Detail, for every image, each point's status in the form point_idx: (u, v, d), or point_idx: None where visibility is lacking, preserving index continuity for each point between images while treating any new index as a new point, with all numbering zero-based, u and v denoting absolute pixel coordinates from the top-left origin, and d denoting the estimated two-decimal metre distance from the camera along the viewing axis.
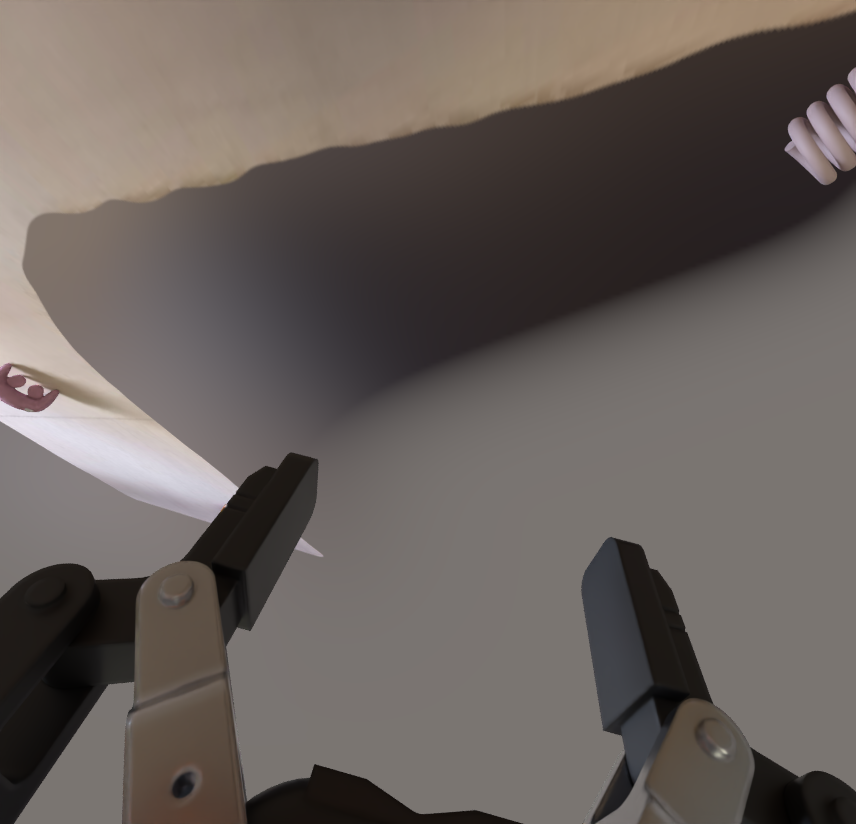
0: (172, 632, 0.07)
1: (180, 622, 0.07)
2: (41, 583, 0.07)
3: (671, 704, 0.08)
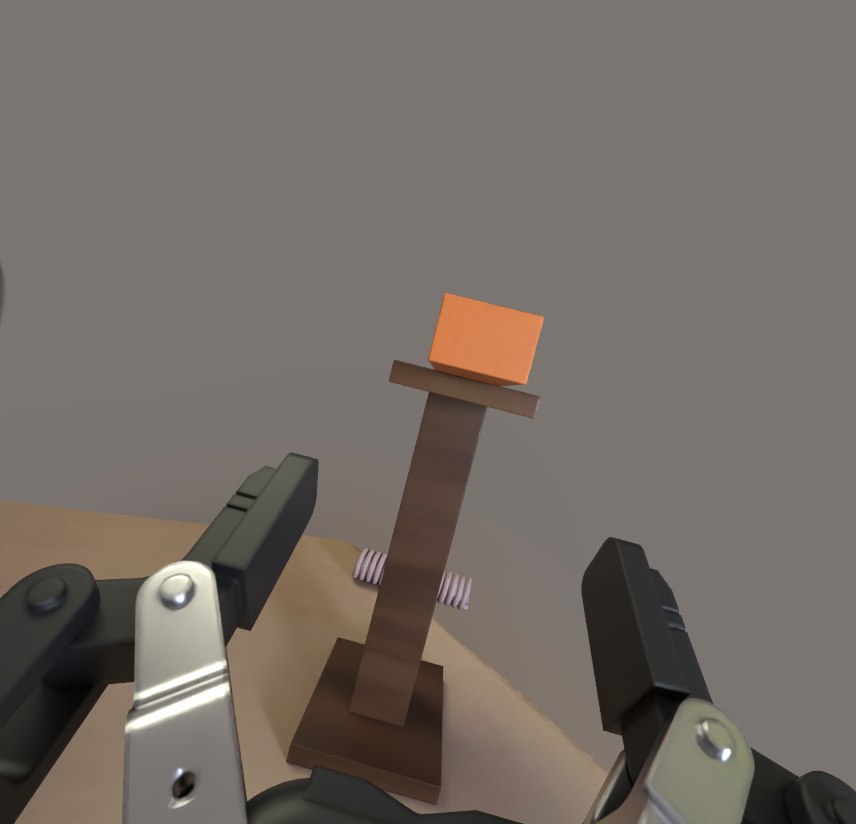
0: (172, 632, 0.07)
1: (180, 623, 0.07)
2: (41, 583, 0.07)
3: (671, 704, 0.08)
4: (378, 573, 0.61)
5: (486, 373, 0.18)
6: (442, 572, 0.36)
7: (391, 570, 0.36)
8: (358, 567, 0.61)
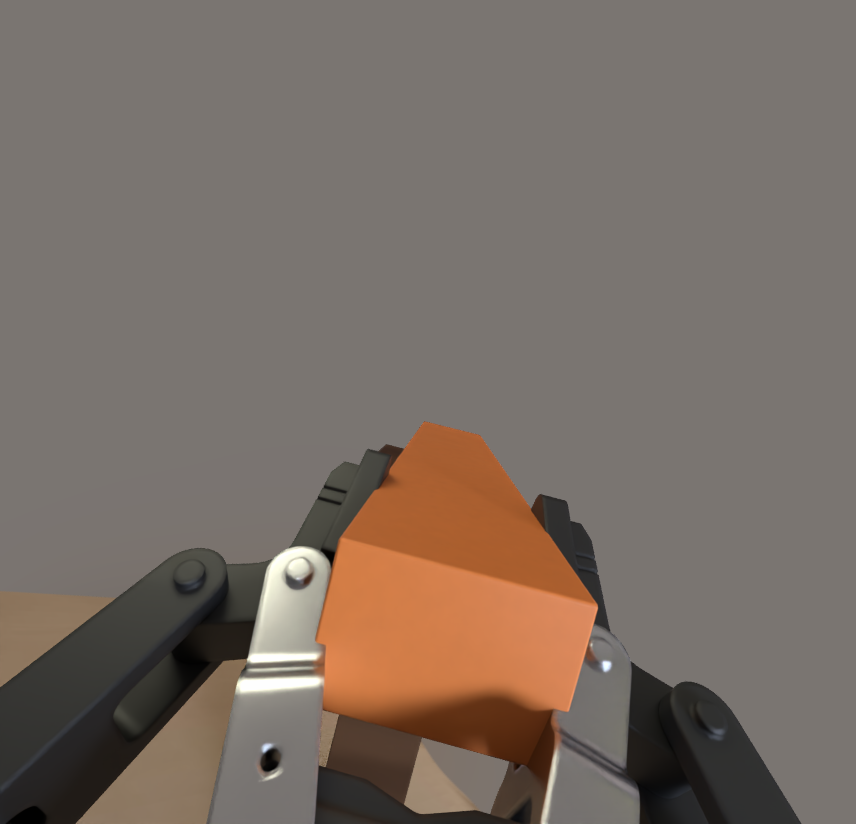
0: (304, 610, 0.07)
1: (296, 603, 0.08)
2: (188, 563, 0.08)
3: None
4: None
5: (449, 741, 0.07)
6: (411, 770, 0.24)
7: (337, 765, 0.25)
8: None
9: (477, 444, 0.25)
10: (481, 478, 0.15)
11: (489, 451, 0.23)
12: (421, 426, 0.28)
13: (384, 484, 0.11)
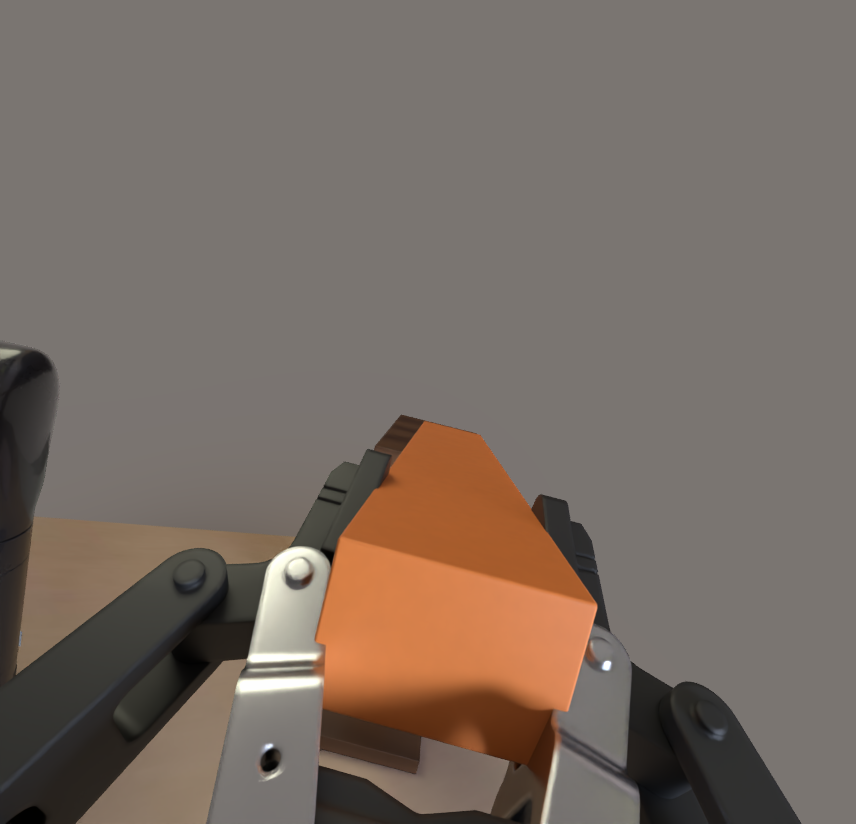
0: (303, 610, 0.07)
1: (295, 603, 0.07)
2: (187, 563, 0.08)
3: None
4: None
5: (448, 741, 0.07)
6: None
7: None
8: None
9: (477, 444, 0.25)
10: (481, 478, 0.15)
11: (489, 451, 0.23)
12: (421, 426, 0.28)
13: (384, 483, 0.11)
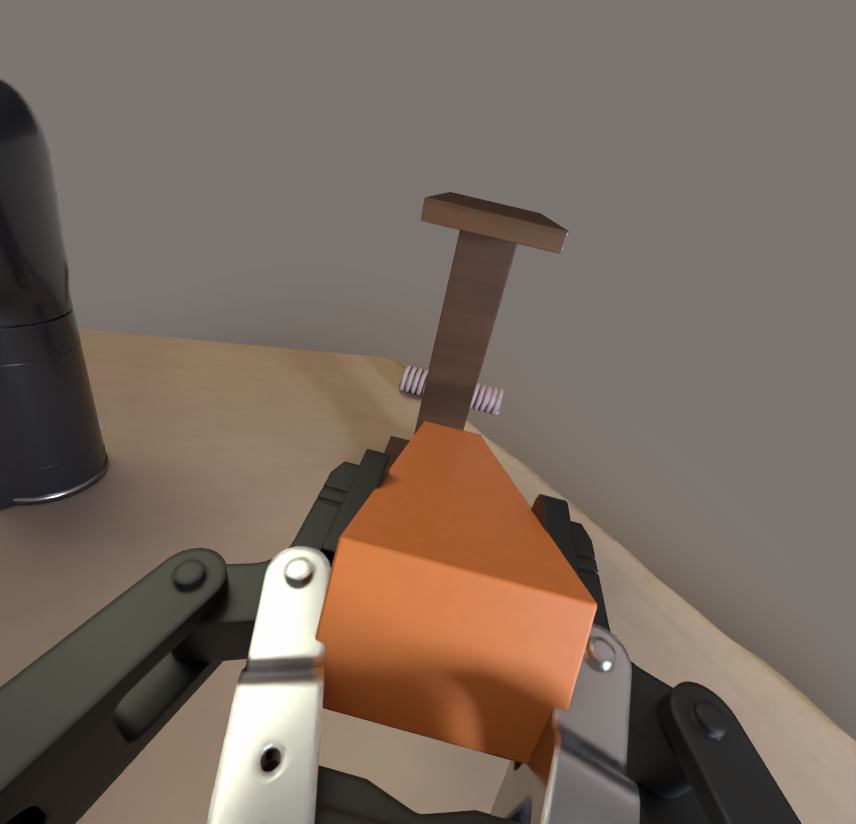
0: (304, 610, 0.07)
1: (295, 604, 0.08)
2: (187, 563, 0.08)
3: None
4: (421, 386, 0.70)
5: (448, 740, 0.07)
6: (474, 388, 0.42)
7: (431, 387, 0.43)
8: (403, 381, 0.70)
9: (477, 444, 0.25)
10: (481, 477, 0.15)
11: (489, 451, 0.23)
12: (421, 426, 0.28)
13: (384, 483, 0.11)
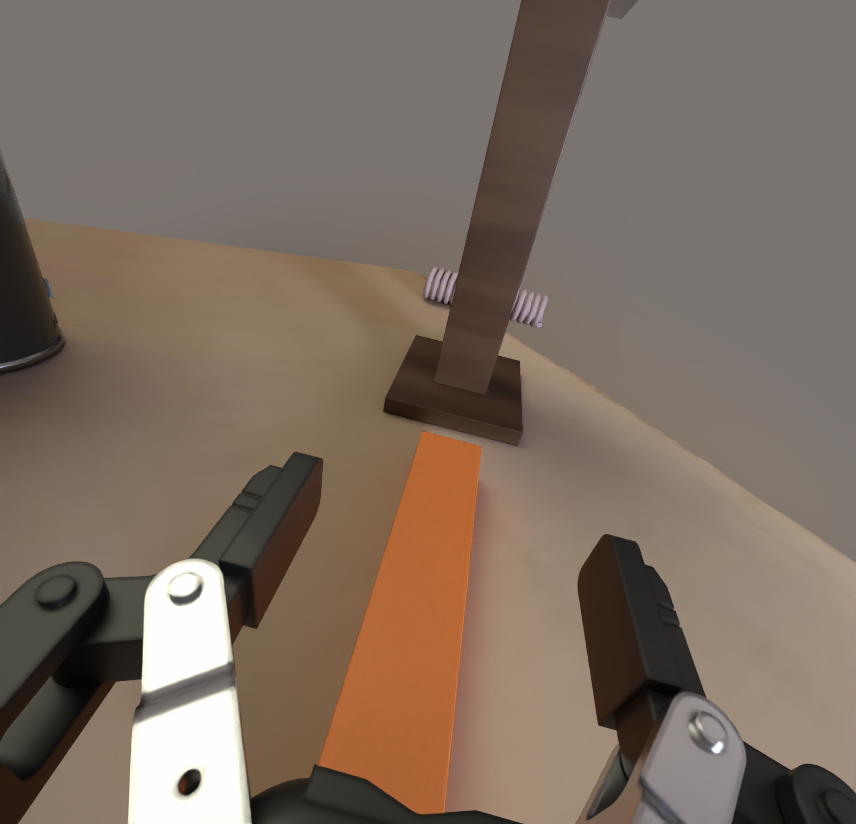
0: (181, 629, 0.07)
1: (188, 620, 0.07)
2: (51, 580, 0.07)
3: (664, 698, 0.08)
4: (449, 291, 0.59)
5: None
6: (534, 234, 0.31)
7: (475, 235, 0.32)
8: (429, 285, 0.59)
9: (463, 509, 0.25)
10: (422, 698, 0.16)
11: (469, 537, 0.23)
12: (411, 469, 0.27)
13: None
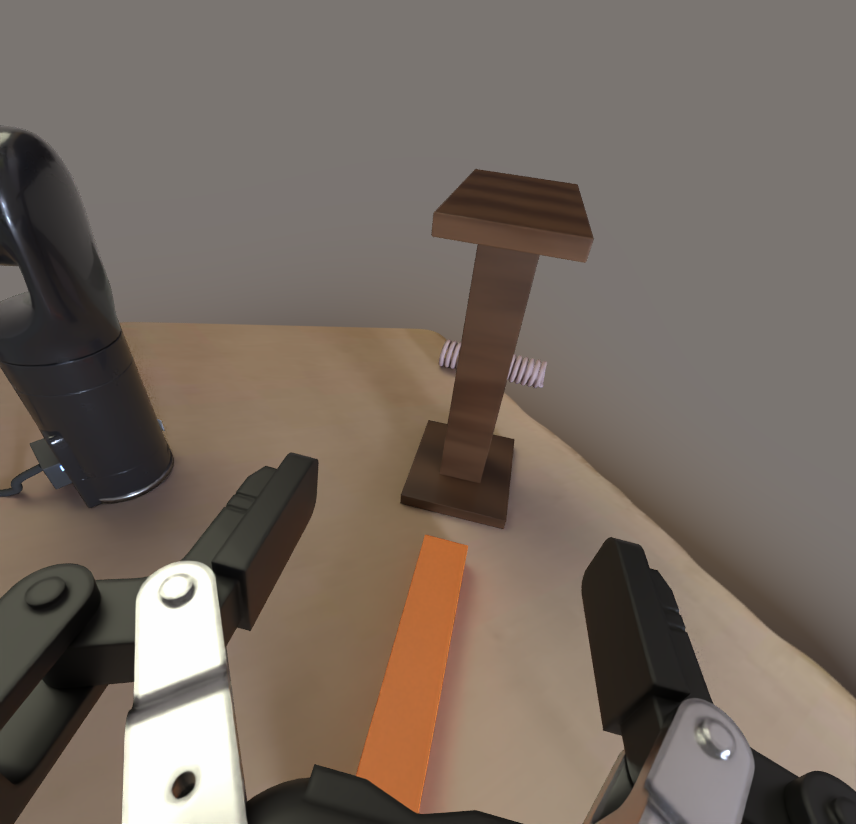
0: (172, 632, 0.07)
1: (179, 622, 0.07)
2: (41, 582, 0.07)
3: (671, 704, 0.08)
4: None
5: None
6: (504, 385, 0.41)
7: (460, 384, 0.42)
8: (442, 358, 0.69)
9: (448, 606, 0.36)
10: (411, 746, 0.29)
11: (450, 629, 0.35)
12: (414, 573, 0.39)
13: None
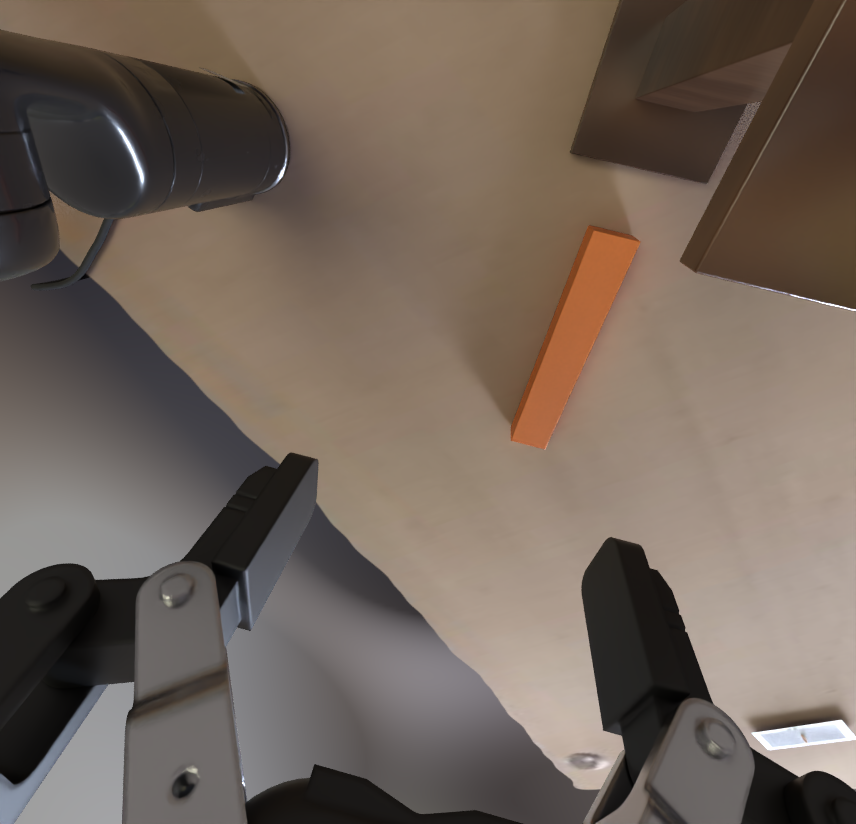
0: (172, 632, 0.07)
1: (179, 623, 0.07)
2: (41, 583, 0.07)
3: (671, 704, 0.08)
4: None
5: None
6: None
7: (705, 80, 0.23)
8: None
9: (602, 307, 0.42)
10: (559, 391, 0.48)
11: (600, 326, 0.43)
12: (575, 277, 0.41)
13: (522, 415, 0.50)
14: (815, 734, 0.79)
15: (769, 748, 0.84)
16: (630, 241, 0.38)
